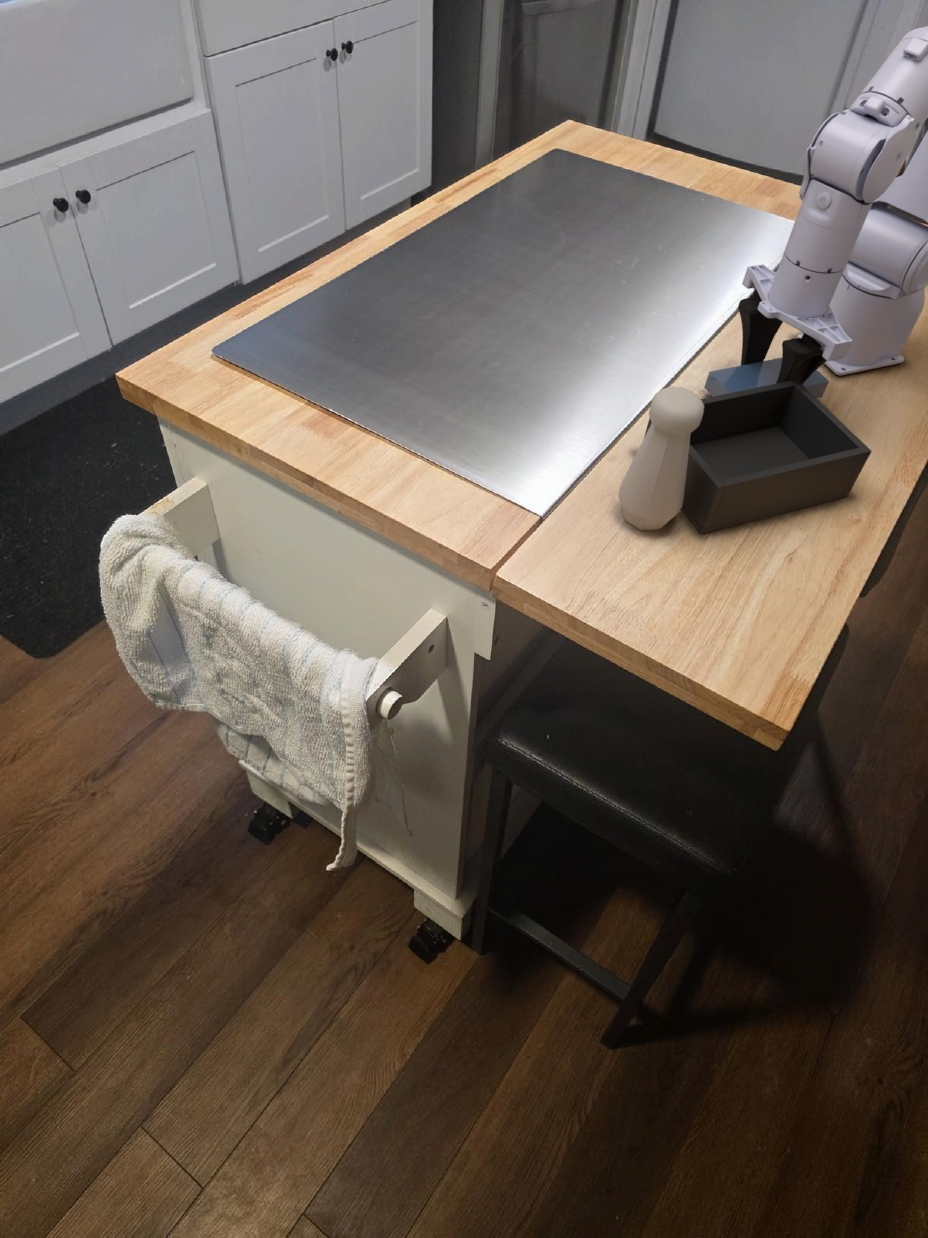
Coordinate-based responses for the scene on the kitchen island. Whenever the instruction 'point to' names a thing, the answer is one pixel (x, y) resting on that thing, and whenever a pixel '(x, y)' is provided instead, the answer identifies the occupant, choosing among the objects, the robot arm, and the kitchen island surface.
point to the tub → (767, 456)
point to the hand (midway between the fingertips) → (765, 382)
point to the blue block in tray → (757, 378)
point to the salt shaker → (661, 460)
